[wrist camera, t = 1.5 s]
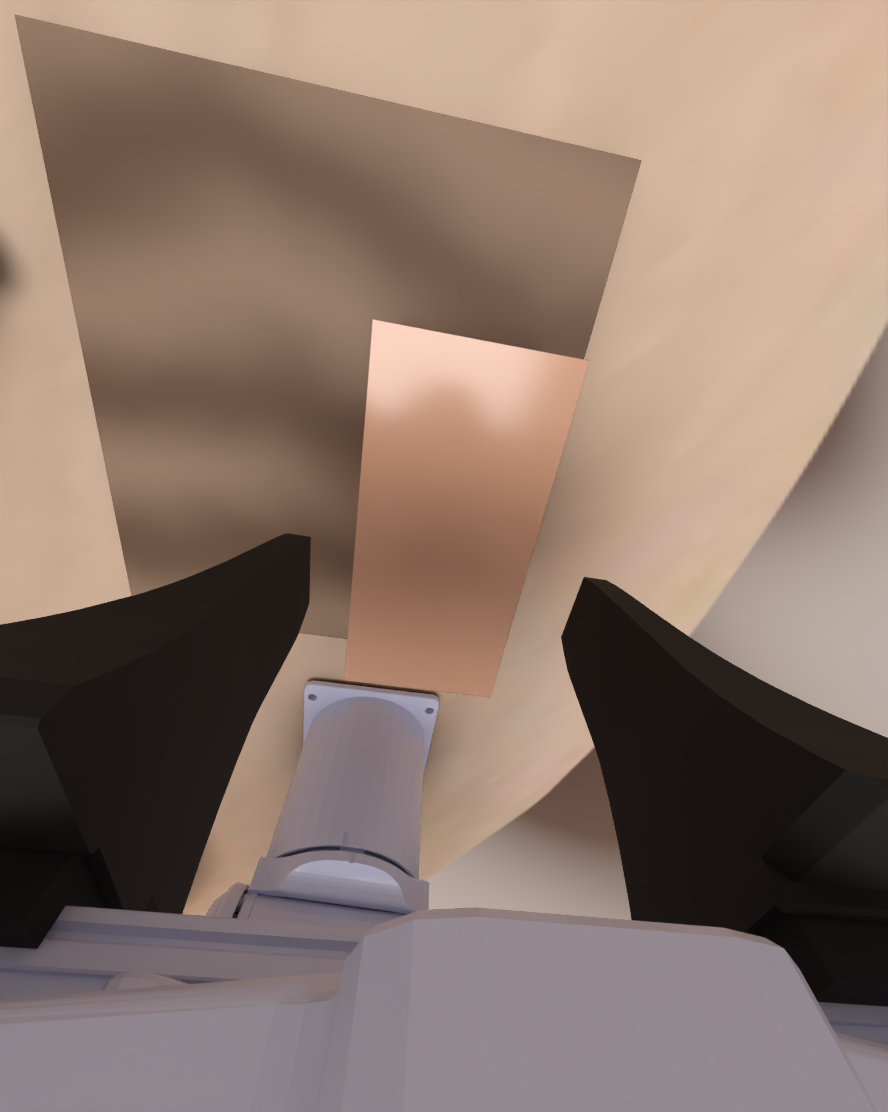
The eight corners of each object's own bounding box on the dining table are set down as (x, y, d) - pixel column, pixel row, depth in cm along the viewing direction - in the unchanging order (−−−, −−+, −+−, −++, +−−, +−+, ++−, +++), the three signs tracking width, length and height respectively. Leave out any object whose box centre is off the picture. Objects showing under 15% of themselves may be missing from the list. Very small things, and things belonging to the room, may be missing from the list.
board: (495, 646, 24) (504, 699, 20) (146, 600, 22) (91, 650, 19) (629, 171, 15) (690, 117, 11) (43, 36, 13) (-106, -77, 9)
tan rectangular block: (477, 609, 22) (489, 697, 16) (368, 594, 21) (344, 679, 16) (540, 353, 16) (589, 360, 11) (396, 325, 16) (372, 319, 10)
